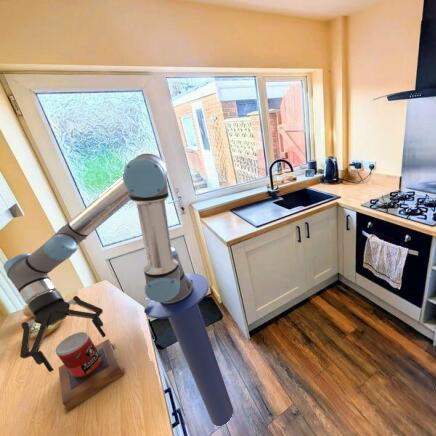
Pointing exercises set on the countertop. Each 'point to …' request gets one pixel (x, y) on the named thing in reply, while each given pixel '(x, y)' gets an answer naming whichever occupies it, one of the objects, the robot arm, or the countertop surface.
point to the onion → (27, 311)
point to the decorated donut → (50, 329)
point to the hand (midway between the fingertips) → (79, 352)
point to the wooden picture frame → (89, 377)
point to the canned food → (79, 354)
